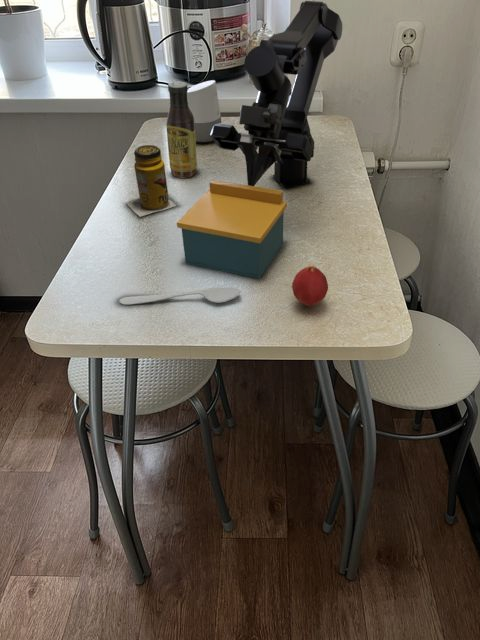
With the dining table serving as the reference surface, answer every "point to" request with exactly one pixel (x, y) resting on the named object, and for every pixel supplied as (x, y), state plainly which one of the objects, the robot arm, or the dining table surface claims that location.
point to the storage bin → (232, 251)
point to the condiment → (150, 182)
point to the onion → (310, 286)
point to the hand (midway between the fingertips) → (250, 186)
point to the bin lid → (235, 211)
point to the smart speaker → (204, 109)
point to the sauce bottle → (181, 132)
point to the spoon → (209, 294)
